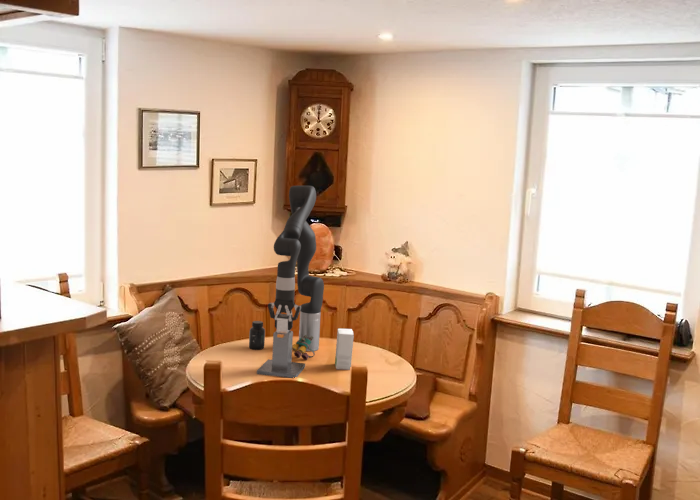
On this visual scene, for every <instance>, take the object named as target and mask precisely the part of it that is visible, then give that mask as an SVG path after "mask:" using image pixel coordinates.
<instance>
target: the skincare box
mask: <svg viewBox="0 0 700 500" xmlns="http://www.w3.org/2000/svg"><path fill="white" fill-rule="evenodd" d="M336 333H337V334H336V344H335V345H336V346H335V347H336V348H335V357H334V358H335V359H334V366H335V370H347V371H350V367H351V368H352V359H353V358H352V357H353V349H354V348H353V347H354V338H355V337H354V335H355V334H354V331H353V329H352V328H337V332H336Z"/></svg>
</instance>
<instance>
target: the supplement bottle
mask: <svg viewBox="0 0 700 500" xmlns="http://www.w3.org/2000/svg"><path fill="white" fill-rule="evenodd" d="M251 322H252V323H251V326H252V327H250V328H249V338H248V339H249V341H248V348H249V349H250V350H253V351H261V350H264V349H265V339H266V338H265V337H266V328H264V322H263V321H261V320H253V321H251Z"/></svg>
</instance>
